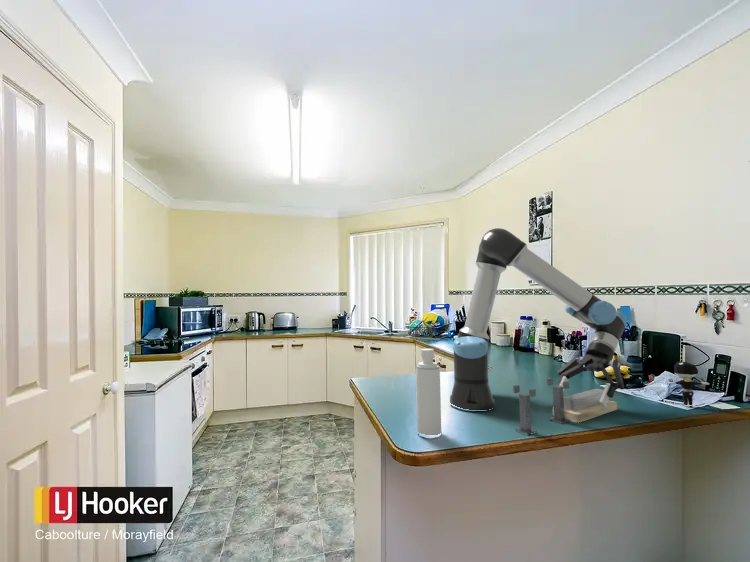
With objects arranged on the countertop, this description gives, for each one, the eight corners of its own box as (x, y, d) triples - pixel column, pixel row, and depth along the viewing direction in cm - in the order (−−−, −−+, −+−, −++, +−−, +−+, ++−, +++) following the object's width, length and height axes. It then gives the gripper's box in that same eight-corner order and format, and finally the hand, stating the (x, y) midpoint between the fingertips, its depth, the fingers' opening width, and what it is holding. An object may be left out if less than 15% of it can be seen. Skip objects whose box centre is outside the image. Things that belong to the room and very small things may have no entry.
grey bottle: (423, 427, 98) (421, 341, 100) (445, 432, 95) (443, 343, 96) (412, 435, 93) (411, 344, 94) (435, 441, 89) (433, 345, 91)
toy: (701, 404, 117) (698, 360, 117) (717, 409, 111) (714, 363, 111) (659, 403, 118) (657, 360, 119) (673, 409, 112) (670, 363, 113)
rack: (512, 429, 96) (510, 386, 97) (554, 416, 106) (552, 377, 107) (530, 436, 91) (528, 390, 92) (572, 422, 101) (570, 380, 102)
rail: (562, 408, 106) (562, 397, 107) (596, 398, 116) (596, 388, 117) (573, 411, 103) (573, 400, 104) (608, 401, 113) (607, 390, 114)
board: (552, 415, 108) (552, 407, 108) (591, 403, 119) (591, 396, 119) (578, 422, 101) (578, 414, 101) (617, 409, 112) (616, 402, 112)
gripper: (648, 360, 107) (628, 417, 99) (570, 350, 129) (548, 396, 121) (640, 344, 105) (618, 401, 97) (561, 337, 127) (538, 383, 118)
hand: (579, 399), depth 109 cm, fingers open, 13 cm apart
